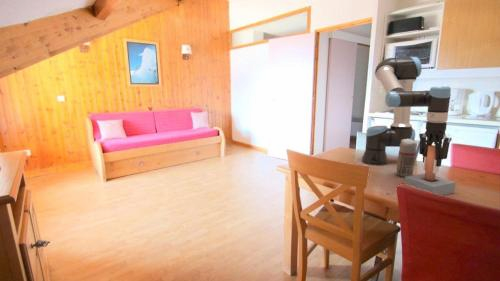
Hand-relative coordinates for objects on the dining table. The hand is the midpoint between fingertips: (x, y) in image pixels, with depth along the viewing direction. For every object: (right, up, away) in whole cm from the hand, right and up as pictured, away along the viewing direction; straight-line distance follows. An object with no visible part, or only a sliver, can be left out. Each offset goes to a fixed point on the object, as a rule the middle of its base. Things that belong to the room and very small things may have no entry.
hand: (430, 171), depth 120 cm
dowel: (0, -4, +1) cm, 4 cm away
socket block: (0, -9, +2) cm, 9 cm away
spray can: (+1, -5, +22) cm, 22 cm away
